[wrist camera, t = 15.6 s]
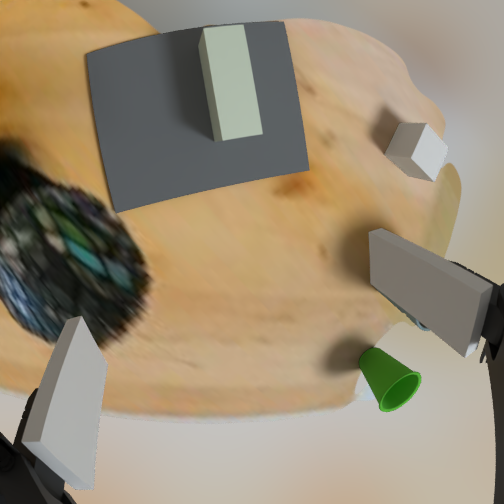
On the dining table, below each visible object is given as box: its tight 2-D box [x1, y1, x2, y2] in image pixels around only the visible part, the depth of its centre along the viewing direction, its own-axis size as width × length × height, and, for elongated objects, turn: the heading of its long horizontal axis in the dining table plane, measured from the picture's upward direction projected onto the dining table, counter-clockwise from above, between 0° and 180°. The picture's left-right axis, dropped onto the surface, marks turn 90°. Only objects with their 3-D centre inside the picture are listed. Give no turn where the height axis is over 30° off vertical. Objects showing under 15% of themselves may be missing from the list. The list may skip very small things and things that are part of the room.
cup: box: [359, 347, 421, 412], centre depth 48 cm, size 9×9×11 cm
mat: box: [87, 22, 309, 213], centre depth 32 cm, size 24×20×1 cm
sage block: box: [198, 25, 263, 142], centre depth 29 cm, size 4×6×12 cm
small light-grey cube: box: [384, 123, 448, 182], centre depth 38 cm, size 6×6×6 cm
